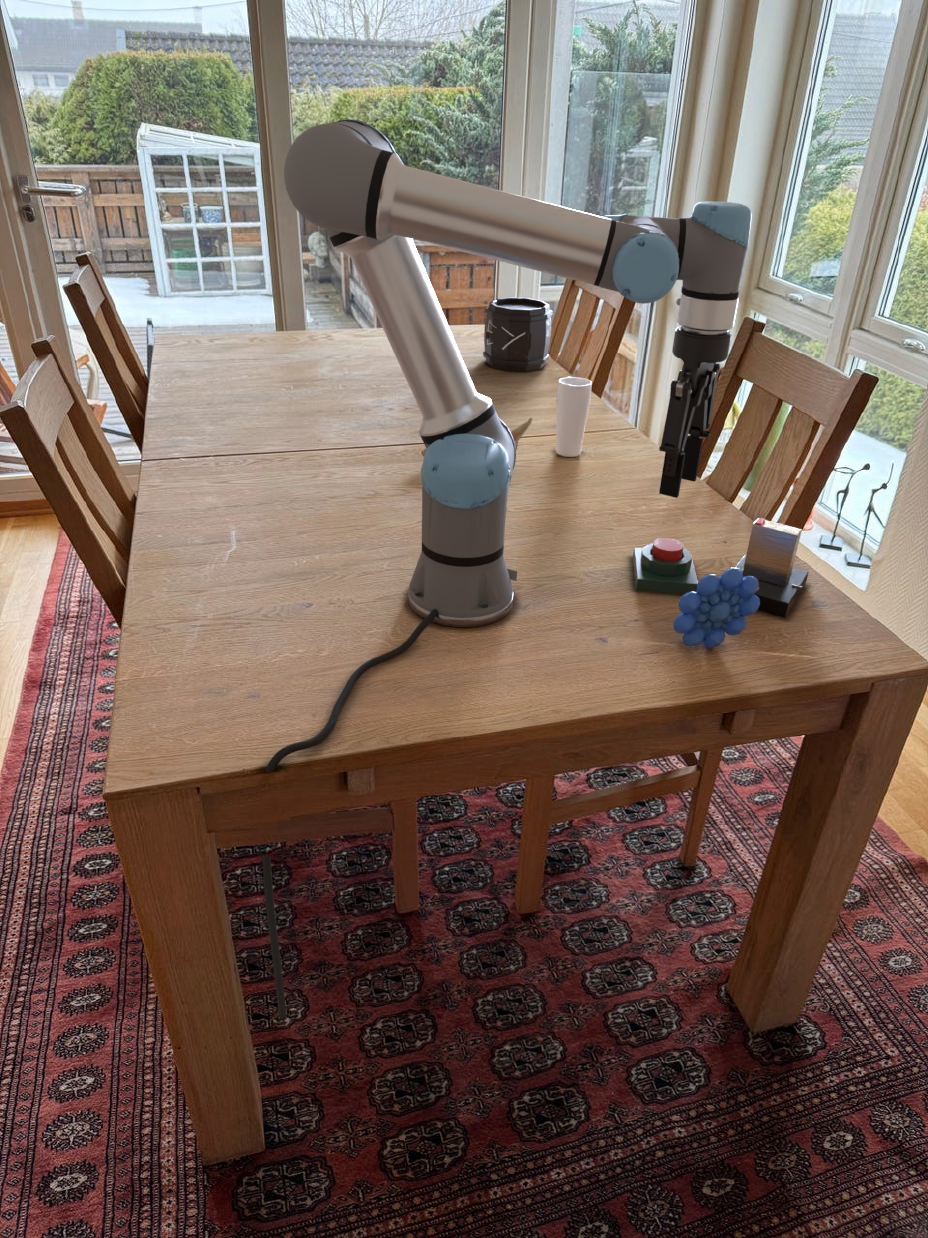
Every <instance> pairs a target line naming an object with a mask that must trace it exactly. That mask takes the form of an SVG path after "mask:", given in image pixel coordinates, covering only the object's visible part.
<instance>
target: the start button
mask: <svg viewBox="0 0 928 1238" xmlns="http://www.w3.org/2000/svg"><path fill="white" fill-rule="evenodd" d="M652 544H653V547H652V556H653V557H655V558H657V559H660V560H663V561H678V560H681V558H682V553H683V548H685V546H684V544H683V543H682V542H681V541H679V540H677V539H674V538H668V537H662V538H657V539H655V540H654V541H653V542H652Z"/></svg>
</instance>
